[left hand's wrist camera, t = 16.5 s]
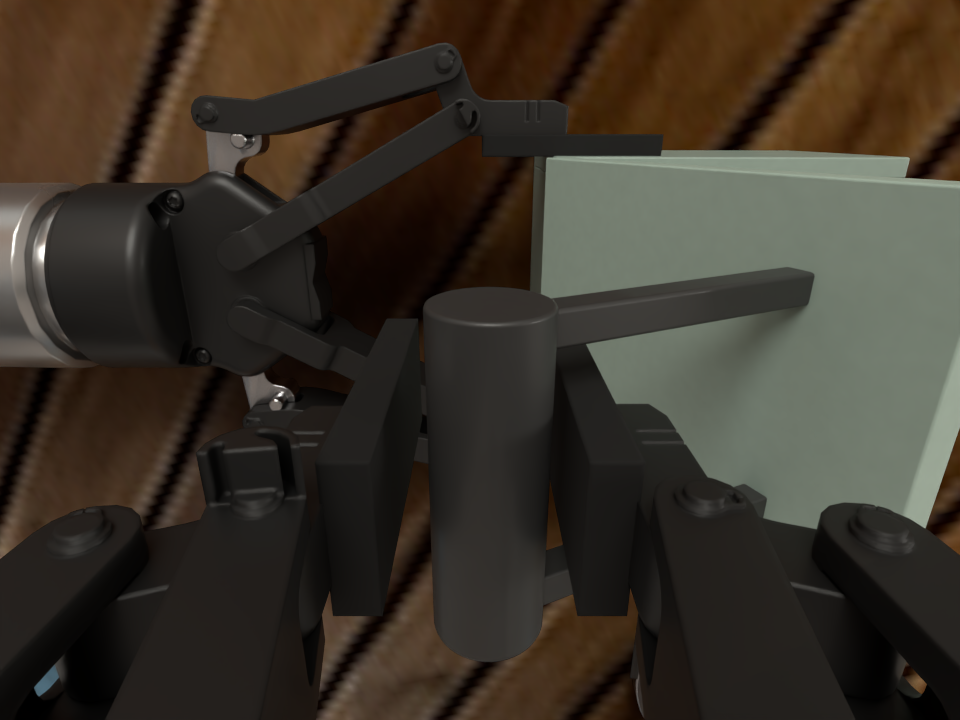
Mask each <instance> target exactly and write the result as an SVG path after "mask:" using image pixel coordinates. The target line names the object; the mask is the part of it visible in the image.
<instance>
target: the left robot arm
mask: <svg viewBox="0 0 960 720" xmlns="http://www.w3.org/2000/svg"><path fill="white" fill-rule="evenodd" d="M421 422H422V405H421V380H420V356H419V331H418V319H386V321H385V323H384V325H383V327H382V329H381V331H380V333H379V335H378V337H377V339H376V341H375V343H374V345H373V347H372V349H371V351H370V353H369V355H368V357H367V359H366V361H365V363H364V365H363V367H362V369H361V371H360V373H359V375H358V377H357V379H356V381H355V383H354V385H353V387H352V389H351V391H350V393H349V395H348V397H347V399H346V401H345V403H344V405H343V406H310V407H309V408H307V409H306V410H304V411H303V412H301V413H300V414H298V415H297V416H295V417H294V418H293V419H292V420H291V422H290V423H289V425H288V426H287V428H286V429H284V428H280V427H277V426H255V427H249V428H242V429H237V430H234V431H231V432H228V433H225V434H222V435H220V436H218V437H216V438H214V439H212V440H210V441H209V442H207V443H205V444H204V445H203V446H202V447H201V448H200V449H199V450H198V451H197V452H196V456H197V461H198V466H199V471H200V475H201V480H202V485H203V490H204V495H205V500H206V505H207V506H206V508H205V511H204V513H203V515H202V517H201V519H200V520H197V521H194V522H190V523H186V524H181V525H176V526H171V527H166V528H161V529H156V530H151V531H145V532H144V530H143V526H142V522H141V518H140V515H139V514H137V513H136V512H135V511H134V510H133V509H132V508H128V507H123V506H118V505H110V506H94V507H88V508H86V509H80V510H76V511H73V512H71V513H69V514H68V515H65V516H63V517H60V518H58V519H56V520H53V521H51V522H50V523H48V524H47V525H45V526H43V527H42V528H40V529H39V530H37V531H36V532H34V533H32V534H31V535H30V536H29V537H27V538H26V539H25V540H24V541H22V542H21V543H20V544H19V545H17V546H16V547H15V548H14V549H12V550H11V551H10V552H9V553H7V554H6V555H5V556H4V557H2V558H1V559H0V720H316V713H317V705H318V696H319V688H320V679H321V670H322V662H323V653H324V645H325V636H324V628H323V620H322V613H323V609H324V606H325V603H326V600H327V597H328V594H329V591H330V594H331V602H332V611H333V616H382V615H383V610H384V605H385V601H386V596H387V591H388V586H389V581H390V576H391V571H392V566H393V561H394V556H395V551H396V546H397V541H398V536H399V531H400V526H401V521H402V516H403V511H404V506H405V502H406V497H407V492H408V487H409V482H410V477H411V472H412V467H413V462H414V457H415V452H416V447H417V442H418V437H419V432H420V427H421ZM550 482H551V487H552V492H553V497H554V502H555V506H556V511H557V516H558V521H559V526H560V531H561V536H562V541H563V546H564V551H565V556H566V561H567V566H568V571H569V576H570V581H571V586H572V591H573V596H574V601H575V605H576V610H577V615H578V616H627V611H628V602H629V594H630V588H631V591H632V594H633V597H634V600H635V603H636V606H637V609H638V612H639V613H638V620H637V628H636V636H635V644H634V651H633V659H632V667H631V674H630V678H632V682H633V687H634V690H635V694H636V698H637V701H638V705H639V708H640V711H641V713H642V715H643V717H644V720H960V555H959V554H957V553H956V552H955V551H954V550H952V549H951V548H950V547H949V546H947V545H946V544H945V543H943V542H942V541H941V540H940V539H938V538H937V537H936V536H935V535H933V534H932V533H931V532H930V531H928V530H927V529H925V528H924V527H922V526H920V525H919V524H917V523H916V522H914V521H913V520H911V519H909V518H907V517H905V516H902V515H900V514H897V513H895V512H893V511H891V510H890V509H887V508H884V507H880V506H877V507H876V506H875V505H871V504H865V503H846V502H844V503H839V504H834V505H829V506H828V507H827V508H826V509H825V510H824V511H822V512H821V514H820V518H819V522H818V526H817V529H813V528H808V527H802V526H797V525H792V524H787V523H782V522H777V521H773V520H769V519H765V518H761V517H759V516H758V514H757V512H756V510H755V508H754V505H753V504H752V503H751V502H750V500H749V499H748V498H747V497H746V495H745V494H743V493H742V492H740V491H739V490H737V489H736V488H734V487H733V486H731V485H729V484H727V483H724V482H721V481H719V480H716V479H713V478H709V477H707V475H706V474H705V472H704V471H703V469H702V468H701V466H700V465H699V463H698V462H697V460H696V459H695V457H694V456H693V454H692V453H691V451H690V450H689V448H688V447H687V445H686V444H684V441H683V439H682V438H681V436H680V435H679V433H676V429H675V427H674V426H673V424H672V422H671V421H670V419H669V418H668V416H667V415H665V414H664V413H662V412H661V411H659V410H657V409H656V408H654V407H653V406H651V405H650V404H616V403H615V401H614V399H613V397H612V395H611V393H610V391H609V389H608V387H607V385H606V383H605V381H604V379H603V377H602V375H601V373H600V371H599V369H598V367H597V365H596V363H595V361H594V359H593V357H592V355H591V353H590V351H589V349H588V347H587V345H586V344H584V345H578V346H573V347H567V348H561V349H557V350H556V369H555V388H554V407H553V425H552V444H551V463H550ZM906 662H907V663H908V664H909V665H910V666H911V667H912V668H913V669H914V670H915V671H916V673H917V674H918V675H919V676H920V677H921V678H922V679H923V680H924V681H925V682H926V684H927V686H926V689H925V691H924V693H923V694H920V693H919V692H918V691H917V690H915V689H914V688H913V687H912V686H911V685H910V684H909V683H908V681H907V680H906V679H905V678H904V677H903V676H902V673H903V670H904V667H905V664H906ZM54 665H55V667H56V670H57V673H58V675H59V678H58V679H57V680H56V681H55V683H54V684H53V685H52V686H51V687H50V688H49V689H48V690H47V691H46V692H44V693H43V694H42V695H41V696H38V695H37V694H36V691H35V689H34V687H35V686H36V685H37V684H38V682H39V681H40V680H41V679H42V678H43V677H44V676H45V675H46V674H47V672H48V671H49V670H50V669H51V668H52V667H53V666H54Z"/></svg>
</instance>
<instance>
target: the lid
mask: <svg viewBox="0 0 960 720" xmlns="http://www.w3.org/2000/svg"><path fill="white" fill-rule="evenodd" d="M423 325H424V353H425V381H426V409H427V437H428V465H429V493H430V521H431V549H432V577H433V605H434V624H435V628H436V631H437V633H438V635H439V636H440V638H441V640H442V641H443V642H444V643H445V645H446V646H447V647H449V648H450V649H451V650H452V651H454V652H455V653H457V654H459V655H461V656H463V657H465V658H468V659H471V660H475V661H482V662H496V661H502V660H507V659H510V658H513V657H515V656H517V655H519V654H521V653H522V652H524V651H525V650H526V649H528V648H529V647H530V646H531V645H532V644H533V642H534V641H535V640H536V638H537V636H538V635H539V632H540V630H541V626H542V615H543V605H546V604H548V603H551V602H553V601H556V600H559V599H561V598H564V597H567V596H569V595H572V594H573V591H572V586H571V581H570V576H569V571H568V566H567V561H566V556H565V551H564V546H563V545H561V546H558V547H555V548H553V549H550V550H547V551H546V539H547V520H548V501H549V482H550V463H551V444H552V425H553V407H554V388H555V369H556V350H557V349H561V348H567V347H573V346H578V345H584V344H586V345H587V347H588V349H589V351H590V353H591V355H592V357H593V359H594V361H595V363H596V365H597V367H598V369H599V371H600V373H601V375H602V377H603V379H604V381H605V383H606V385H607V387H608V389H609V391H610V393H611V395H612V397H613V399H614V401H615V403H616V404H650V405H651V406H653V407H654V408H656V409H657V410H659V411H661V412H662V413H664V414H665V415H667V416H668V418H669V419H670V421H671V422H672V424H673V426H674V427H675V429H676V433H679V435H680V436H681V438H682V439H683V441H684V444H686V445H687V447H688V448H689V450H690V451H691V453H692V454H693V456H694V457H695V459H696V460H697V462H698V463H699V465H700V466H701V468H702V469H703V471H704V472H705V474H706V475H707V477H709V478H713V479H716V480H719V481H721V482H724V483H727V484H729V485H731V486H733V487H734V488H736V489H737V490H739V491H740V492H742V493H743V494H745V495H746V497H747V498H748V499H749V500H750V502H751V503H752V504H753V505H754V508H755V510H756V512H757V514H758V516H759V517H761V518H765V519H769V520H773V521H777V522H782V523H787V524H792V525H797V526H802V527H808V528H813V529H817V526H818V522H819V518H820V514H821V512H822V511H824V510H825V509H826V508H827V507H828V506H829V505H834V504H839V503H844V502H846V503H865V504H871V505H875V506H876V507H877V506H880V507H884V508H887V509H890V510H891V511H893V512H895V513H897V514H900V515H902V516H905V517H907V518H909V519H911V520H913V521H914V522H916V523H917V524H919V525H920V526H922V527H924V528H926V525H927V522H928V519H929V516H930V513H931V510H932V507H933V504H934V501H935V498H936V495H937V492H938V489H939V486H940V483H941V481H942V478H943V475H944V472H945V469H946V466H947V463H948V460H949V457H950V454H951V451H952V448H953V445H954V442H955V439H956V436H957V434H958V431H959V428H960V182H959V181H943V180H927V179H911V178H895V177H879V176H862V175H846V174H830V173H814V172H798V171H782V170H766V169H750V168H734V167H718V166H701V165H685V164H669V163H653V162H637V161H621V160H605V159H589V158H573V157H557V158H547V159H546V178H545V202H544V227H543V251H542V276H541V294H539V293H536V292H532V291H528V290H523V289H516V288H505V287H474V288H464V289H457V290H452V291H447V292H444V293H440V294H438V295H435V296H433V297H431V298H429V299H428V300H427V301H426V302H425V304H424V307H423Z"/></svg>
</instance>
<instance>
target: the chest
mask: <svg viewBox="0 0 960 720" xmlns="http://www.w3.org/2000/svg"><path fill="white" fill-rule="evenodd" d="M557 157H573V158H589V159H605V160H621V161H637V162H653V163H669V164H685V165H701V166H718V167H734V168H750V169H766V170H782V171H798V172H814V173H830V174H846V175H862V176H879V177H895V178H905V175H906V171H907V168H908V164H909V160H910V159H909V158H908V157H893V156H875V155H857V154H839V153H821V152H803V151H707V150H662V151H661V156H554V157H534V186H533V216H532V246H531V276H530V291H532V292H536V293H539V294H541V276H542V251H543V227H544V202H545V178H546V159H547V158H557Z"/></svg>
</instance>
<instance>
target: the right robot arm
mask: <svg viewBox="0 0 960 720" xmlns="http://www.w3.org/2000/svg"><path fill="white" fill-rule="evenodd" d="M436 90H437V93H438V96H439V98H440V101H441V104H442V107H443V110H441V111H439V112H438V113H436V114H435V115H433V116H431V117H430V118H428V119H426V120H425V121H423V122H421V123H420V124H418V125H416V126H415V127H413V128H411V129H410V130H408V131H406V132H405V133H403V134H401V135H400V136H398V137H397V138H395V139H393V140H392V141H390V142H388V143H387V144H385V145H383V146H382V147H380V148H378V149H377V150H375V151H373V152H372V153H370V154H368V155H367V156H365V157H364V158H362V159H360V160H359V161H357V162H355V163H354V164H352V165H350V166H349V167H347V168H345V169H344V170H342V171H340V172H339V173H337V174H335V175H334V176H332V177H331V178H329V179H327V180H326V181H324V182H322V183H321V184H319V185H317V186H316V187H314V188H312V189H310V190H308V191H307V192H305V193H303V194H301V195H299V196H298V197H296V198H294V199H293V200H291V201H289V202H286V201H285V200H283V199H282V198H280V197H279V196H277V195H276V194H274V193H273V192H271V191H270V190H269V189H267V188H266V187H264V186H263V185H261V184H260V183H258V182H257V181H255V180H254V179H252V178H251V177H250V176H248V175H247V174H245V173H244V166H245V163H246V162H247V161H248V159H250V158H251V157H254V156H259V155H262V154H264V153H265V152H266V151H267V150H268V147H269V143H270V138H269V135H281V134H290V133H294V132H298V131H302V130H305V129H309V128H312V127H315V126H319V125H322V124H325V123H329V122H332V121H336V120H339V119H342V118H346V117H349V116H352V115H356V114H359V113H362V112H366V111H369V110H373V109H376V108H379V107H383V106H386V105H389V104H393V103H396V102H399V101H403V100H406V99H409V98H413V97H416V96H420V95H423V94H426V93H430V92H433V91H436ZM191 114H192V118H193V120H194V122H195V123H196V125H197V126H199V127H200V128H201V129H202V130H205V131H206V138H207V151H208V164H209V172H208V173H206V174H204V175H202V176H201V177H199V178H198V179H196V180H195V181H192V182H190V183H91V184H87V185H84V186H79V185H76V184H73V183H0V367H48V368H87V367H95V366H97V365H102V366H106V367H199V366H215V367H220V368H223V369H226V370H228V371H230V372H232V373H234V374H236V375H239V376H242V378H243V382H244V386H245V390H246V394H247V398H248V402H249V406H250V410H249V412H248V413H247V414H246V415H245V416H244V419H243V427H244V428H249V427H255V426H277V427H280V428H284V429H286V428H287V426H288V425H289V423H290V422H291V420H292V419H293V418H294V417H295V416H297V415H298V414H300V413H301V412H303V411H304V410H306V409H307V408H309V407H310V406H343V405H344V403H345V401H346V399H347V397H348V395H347V394H343V393H339V392H334V391H330V390H326V389H321V388H314V387H299V386H298V383H297V381H296V380H295V379H293V378H289V379H288V378H283V377H280V376H278V375H277V374H275V373H274V371H273V370H272V368H271V367H272V366H273V365H275V364H276V363H277V362H279V361H280V360H281V359H283V358H284V357H285V356H287V355H289V356H291V357H293V358H295V359H297V360H299V361H302V362H304V363H306V364H308V365H310V366H312V367H314V368H317V369H319V370H332V371H335V372H337V373H339V374H341V375H343V376H345V377H347V378H349V379H351V380H353V381H356V379H357V377H358V375H359V373H360V371H361V369H362V367H363V365H364V363H365V361H366V359H367V357H368V355H369V353H370V351H371V349H372V347H373V345H374V343H375V341H376V339H375V338H373V337H371V336H369V335H367V334H365V333H363V332H361V331H359V330H358V329H356V328H354V327H353V325H352V324H351V323H350V322H349V321H348V320H346V319H345V318H343V317H341V316H339V315H337V314H335V313H333V312H331V311H329V310H330V309H331V308H332V307H333V302H332V292H331V288H330V285H329V282H328V279H327V277H326V274H325V267H326V261H327V256H328V250H327V240H326V236H322V234H321V232H320V230H319V228H318V227H317V225H319V224H321V223H322V222H324V221H326V220H327V219H329V218H331V217H333V216H334V215H336V214H338V213H339V212H341V211H343V210H344V209H346V208H348V207H349V206H351V205H353V204H354V203H356V202H358V201H359V200H361V199H363V198H365V197H366V196H368V195H370V194H371V193H373V192H375V191H376V190H378V189H380V188H381V187H383V186H385V185H386V184H388V183H390V182H392V181H393V180H395V179H397V178H398V177H400V176H402V175H403V174H405V173H407V172H408V171H410V170H412V169H414V168H415V167H417V166H419V165H420V164H422V163H424V162H425V161H427V160H429V159H430V158H432V157H434V156H436V155H437V154H439V153H441V152H442V151H444V150H446V149H447V148H449V147H451V146H452V145H454V144H456V143H458V142H459V141H461V140H463V139H464V138H466V137H468V136H482V157H554V156H661V151H662V142H663V135H661V134H567V121H568V106H566V105H564V104H562V103H560V102H557V101H555V100H485V99H483V98H480V97H479V96H478V95H477V94H476V93H475V92H474V91H473V90H472V87H471V85H470V83H469V80H468V77H467V74H466V71H465V68H464V65H463V62H462V59H461V56H460V54H459V52H458V50H457V49H456V48H455V47H454V46H453V45H451V44H448V43H439V44H435V45H432V46H429V47H425V48H422V49H419V50H416V51H412V52H409V53H406V54H403V55H399V56H396V57H393V58H389V59H386V60H383V61H380V62H376V63H373V64H370V65H367V66H363V67H360V68H357V69H353V70H350V71H347V72H344V73H340V74H337V75H334V76H331V77H327V78H324V79H321V80H317V81H314V82H311V83H308V84H304V85H301V86H298V87H295V88H291V89H288V90H285V91H281V92H278V93H275V94H272V95H268V96H265V97H262V98H259V99H255V100H250V99H240V98H229V97H218V96H208V95H206V96H200V97H198V98H197V99H195V100H194V102H193V104H192V107H191ZM420 380H421V405H422V422H421V427H420V432H419V437H418V442H417V447H416V452H415V457H414V461H418V462H422V463H427V464H428V437H427V409H426V381H425V363H423V362H421V361H420ZM58 678H59V675H58V673H57V670H56V667H55V665H54V666H53V667H52V668H51V669H50V670H49V671H48V672H47V674H46V675H45V676H44V677H43V678H42V679H41V680H40V681H39V682H38V684H37V685H36V686H35V687H34V689H35V691H36V694H37V695H38V696H41V695H42V694H43V693H44V692H46V691H47V690H48V689H49V688H50V687H51V686H52V685H53V684H54V683H55V681H56V680H57V679H58Z"/></svg>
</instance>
